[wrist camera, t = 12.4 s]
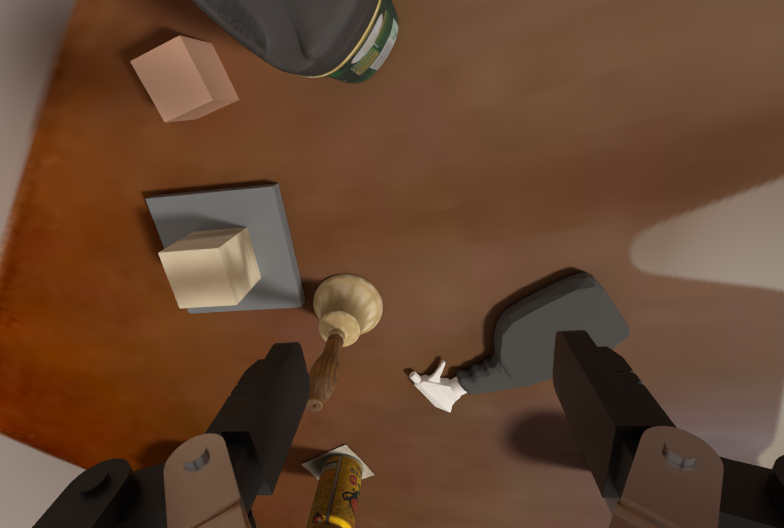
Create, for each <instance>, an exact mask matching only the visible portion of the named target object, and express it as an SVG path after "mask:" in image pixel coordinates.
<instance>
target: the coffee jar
mask: <svg viewBox="0 0 784 528" xmlns="http://www.w3.org/2000/svg"><path fill="white" fill-rule="evenodd" d="M192 1H193V2H194V3H195V4H196V5H197V6H198V7H199V8H200V9H201V10H202V11H203V12H204V13H206V14H207V15H208V16H209V17H210V18H211V19H212V20H213V21H214V22H215V23H216V24H218V25H219V26H220V27H221V28H222V29H223V30H225V31H226V32H227V33H228V34H229V35H230V36H232V37H233V38H234V39H235V40H237V41H238V42H239V43H240V44H242V45H243V46H245V47H246V48H247V49H248V50H250V51H251V52H253V53H254V54H255V55H257V56H258V57H260V58H261V59H263V60H264V61H265V62H267V63H268V64H270V65H272V66H273V67H275V68H277V69H279V70H281V71H284V72H288V73H292V74H296V75H299V76H302V77H308V78H314V77H322V76H329V77H332V78H334V79H337V80H340V81H343V82H347V83H360V82H363V81H365V80H367V79H369V78H370V77H371V76H372V75H373V74H374V73H375V72H376V71H377V70H378V69H379V67H380V66H381V65H382V63H383V62H384V61H385V59H386V58H387V56H388V54H389V53H390V51H391V49H392V47H393V45H394V43H395V40H396V38H397V33H398V18H397V14H396V11H395V8H394V6H393V3H392V1H391V0H192Z"/></svg>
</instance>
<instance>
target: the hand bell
mask: <svg viewBox="0 0 784 528" xmlns="http://www.w3.org/2000/svg"><path fill="white" fill-rule="evenodd" d="M313 305H314V310H315V313H316V316H317V318H318V319H319V321H320V322H319V332H320V334H321V336H322V338H323V339H324V340H325V341H326V346H325V349H324V352H323V354H322V355H321V356H320V357H319V358H318V359H317V360H316V362H315V363H314V365H313V366H312V368H311V370H310V373H309V380H310V394H309V399H308V401H307V404H306V405H307V407H308V409H309V410H311V411H319V410H320V409H321V408H322V406H323V405H324V403H325V402H326V401H327V400H328V399H329V397H330V396H331V395H332V393H333V392H334V390H335V388H336V385H337V381H338V377H339V361H338V357H339V354H340V351H341V349H342V347H345V346H349V345H351V344H353V343H354V342H355V341H356V340H357V339H358V337H359V335H361V334H364V333H366V332H368V331H370V330H371V329H373V328H374V327H375V326H376V325H377V324H378V322H379V320H380V319H381V316H382V312H383V304H382V299H381V296H380V294H379V293H378V291H377V290H376V288H375V287H374V286H373V285H372V284H371V283H370V282H368V281H367V280H365V279H363V278H361V277H359V276H355V275H351V274H340V275H335V276H332V277H330V278H328V279H326V280H325V281H323V282H322V283H321V284H320V285H319V287H318V288H317V290H316V292H315V294H314V299H313Z"/></svg>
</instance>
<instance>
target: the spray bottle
mask: <svg viewBox="0 0 784 528" xmlns="http://www.w3.org/2000/svg"><path fill="white" fill-rule="evenodd" d="M571 330H585V331H587V333H588V334H589V336H590V337H591V338H592V340H593V341H594V343H595V344H596V346H597V347H601V346H607V347H608V348H610V349H613V348H614V347H616V346H617V345H618V344H619V343H621V342H622V341H623V340H624V339H626V338H627V337H628V336H629V333H630V331H629V327H628V325H627V324H626V322H625V321H624V319H623V317H622V316H621V314H620V313H619V311H618V310H617V308H616V307H615V305H614V303H613V302H612V300H611V299H610V297H609V296H608V294H607V293H606V291H605V289H604V288H603V287H602V286H601V285H600V284H599V283H598V282H597V281H596V279H595V278H594V277H593V276H592V275H591V274H588V273H586V272H582V273H579V274H575V275H571V276H568V277H566V278H564V279H562V280H560V281H558V282H556V283H554V284H552V285H549V286H547V287H545V288H543V289H541V290H539V291H537V292H535V293H533V294H531V295H529V296H527V297H526V298H524V299H522V300H520V301H519V302H517V303H515V304H514V305H512V306H511V307H509V308H507V309H506V310H505V311H504V312H503V313H502V315H501V316H500V317H499V318H498V321H497V324H496V327H495V333H494V350H495V353H494V354H493V355H492V356H491V357H490V358H487V359H485V360H484V361H483V363H480V364H474V365H473V366H472V367H471V368H470V369H469V370H466V369H463V370H458V371H457V373H456V377H454V378H453V379H451V380H450V379H449V378H440V375H441V373H442V371H443V369H444V366H445V361H444V360H443V361H442V362H441V364H440V365H439V366H438V368H437V369H436V371H435V372H434V373H433V374H432V375H430V376H428V375H422V376H419V375H418V374H417V373H416V372H415V371H413V372H411V373H410V375H409V378H410V379H411V380H412V381H413V382H414V385H415V386H416V387H417V388H418V389H419V390H420V391H421V392H422V393H423V394H424V395H425V396H426V397H427V398H428V399H429V400H430V401H431V402H432V403H433V404H434V405H435V407H438V408H440V409H443V410H445V411H448V412H451V409H452V405H453V404H454V402H455V401H456V400H458V399H459V398H460V396H461V395H463V394H465V393H469V394H479V393H487V392H495V391H500V390H505V389H510V388H515V387H522V386H529V385H532V384H535V383H538V382H541V381H544V380H547V379H550V378H553V361H554V348H555V337H556V333H557V332H558V331H571Z"/></svg>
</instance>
